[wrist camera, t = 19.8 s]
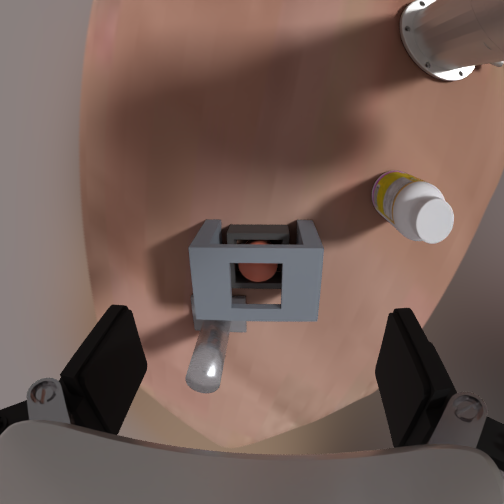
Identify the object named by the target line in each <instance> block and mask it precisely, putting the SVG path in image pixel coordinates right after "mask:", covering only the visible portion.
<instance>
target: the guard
mask: <svg viewBox="0 0 504 504" xmlns="http://www.w3.org/2000/svg"><path fill="white" fill-rule="evenodd" d="M237 239H242V240H282V241H281V245H273V244H237ZM323 254H324V248H323V245H322V243H321V240H320V238H319V235H318V233H317V230H316V228H315V226H314V223H313V221H312V220H297V238H296V245H289V229H288V225H230V226H229V229H228V232H227V244H222V231H221V220H206V221H205V222H204V224H203V225H202V227H201V229H200V230H199V232H198V233H197V235H196V236H195V238H194V240H193V241H192V243H191V244H190V246H189V258H190V268H191V277H192V287H193V296H194V304H195V313H196V319H200V320H227V321H317V319H318V309H319V299H320V289H321V278H322V266H323ZM238 263H281V272H280V271H276V272H275V274H274V275H273V276H272V277H271V278H270V279H268V280H266V281H262V282H255V281H251V280H249V279H247V278H246V277H244V276H243V275H242V273H241V272H240V271H238ZM231 288H256V289H282V293H281V304H232V289H231Z"/></svg>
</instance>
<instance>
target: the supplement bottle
mask: <svg viewBox="0 0 504 504" xmlns="http://www.w3.org/2000/svg"><path fill="white" fill-rule="evenodd" d="M372 202H373V205H374V207H375V209H376V210H377V212H378V213H379V214H380V215H382V216H383V217H384V218H385V219H386V220H387V221H388V222H389V223H391V224H392V225H393V226H394V227H395V228H396V229H397V230H398V231H399V232H400V233H401V234H402V235H404V236H405V237H406V238H408V239H410V240H414V241H424V242H427V243H431V244H433V243H438V242H440V241H442V240H444V239H445V238H446V237H447V236H448V234H449V233H450V231H451V229H452V227H453V223H454V215H453V211H452V208H451V206H450V205H449V204H448V203H447V202H446V201H445V199H444V196H443V195H442V193H441V192H440V190H439V189H438V188H437V187H435V186H434V185H432V184H430V183H428V182H425V181H423V180H421V179H418V178H416V177H414V176H411V175H409V174H406V173H404V172H401V171H388V172H386V173H384V174H382V175H381V176H380V177H379V178H378V179H377V180H376V182H375V184H374V186H373V189H372Z"/></svg>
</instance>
